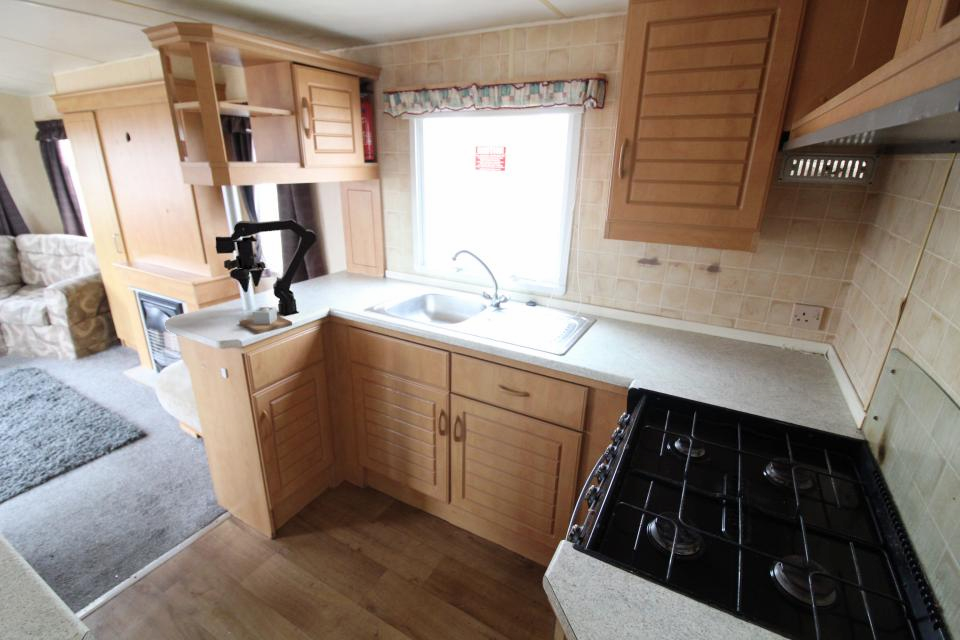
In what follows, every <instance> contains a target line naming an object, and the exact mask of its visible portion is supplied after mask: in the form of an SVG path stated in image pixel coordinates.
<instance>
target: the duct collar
mask: <svg viewBox="0 0 960 640" xmlns="http://www.w3.org/2000/svg"><path fill="white" fill-rule="evenodd" d="M263 308H268V309H269V311H268V312H259V309H263ZM251 315H252V318H253V322H254V324H271V323H272V322H274V321H275V320H276V319H277V315H278V314H277V308H276V307H275V306H274V307H273V306H272V307H270V306H269V307H268V306H259V307H257V308H256V309H255V310H253V311H252V312H251Z"/></svg>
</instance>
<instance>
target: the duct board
mask: <svg viewBox="0 0 960 640" xmlns="http://www.w3.org/2000/svg"><path fill="white" fill-rule="evenodd" d="M268 311H269V309H268V308H263V309H259V312H268ZM238 321H239V322H238V323H239V325H240V326H242V327H244V328H246V329H248V330H250V331H252V333H253V332H254V333H255V334H257V335H261V334H263V333H267V332H272V331H275V330H279V329H283V328H286V327H291V326H293V322H292V321H291V320H289V319H286V318H284V317H282V316H280V315H278V314H277V319H276V320H275V321H274V322H272V323H271V324H254V322H253V317H251V318H245V319H241V320H238Z"/></svg>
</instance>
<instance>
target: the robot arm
mask: <svg viewBox="0 0 960 640" xmlns="http://www.w3.org/2000/svg"><path fill="white" fill-rule="evenodd" d="M284 230H285V231H287V230H291V231H292V232H293V233H294V234H296V235H297V236H298V237H299V240H298V245H297V248H296V250H295V252H294V253H293V255H292V258H291V260H290V262H289V264H288V265H287V268H286V270H285V271H284V274H283V275H282V276H281V277H276V280H275V283H274V284H273V286H272V287H273V295H274V296H275V297H276V298H277V299H279V300H278V304H277V308H278V314H279V315H282V316H284V317H288V316H292V315H296V314H299V313H300V311H298V310H297V300H296V298H295V296H294V294H295V293H294V291H292V290H291V284H292V281H293V279H294V277H295V275H296V273H297V271H298V269H299V267H300V265H301V264H302V261H303V259H304V258H305V256H306V254H307V253H308V251H309V250H311V249H312V247H313V245H314V244H315V243H316V241H317V236H316V234H315V232H314V231H313V230H312V229H308V228H307V229H306V228H305V227H304V226H303V225H301V224H300V223H298V222H296V220H294V219H293V218H289V219H282V220H272V221H271V220H270V221H260V222H259V221H252V220H251V221H248V220H247V221H246V220H240V221H237V222H236V223H235V224H234V227H233V233H231V235H230V236H215V252H216V253H217V255H220V254H225V255H226V254H234V251H237V254H238V255H236V256H235V259H233V260H231V259H227V260H224V261H223V267H224V268H225V269H227V271H230V272H229V277H230V278H232V279H234V280H237V282H238V283H239V285H240V286H241V288H242V291H243V292H244V293H248V290H249V285H250V279H251V277H252V281H253V285H254V287H258V286H259V284H260V281H261V278H262V275H263V274H264V271H265V269H266V263H265V262H264V261H258V260H257V261H255V260H256V259H255V257H257V254H256V253H254V252H255V251H254V246H253V242H254V243H255V242H257V241H258V238H257V237H254V235H255V234H259V233H264V232H275V231H284ZM240 238H241V239H240ZM250 274H251V276H250Z"/></svg>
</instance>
